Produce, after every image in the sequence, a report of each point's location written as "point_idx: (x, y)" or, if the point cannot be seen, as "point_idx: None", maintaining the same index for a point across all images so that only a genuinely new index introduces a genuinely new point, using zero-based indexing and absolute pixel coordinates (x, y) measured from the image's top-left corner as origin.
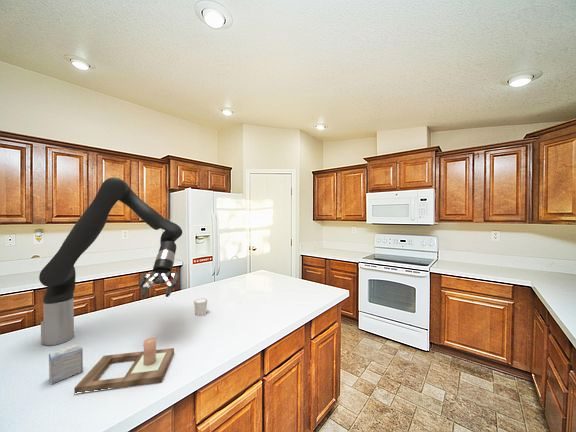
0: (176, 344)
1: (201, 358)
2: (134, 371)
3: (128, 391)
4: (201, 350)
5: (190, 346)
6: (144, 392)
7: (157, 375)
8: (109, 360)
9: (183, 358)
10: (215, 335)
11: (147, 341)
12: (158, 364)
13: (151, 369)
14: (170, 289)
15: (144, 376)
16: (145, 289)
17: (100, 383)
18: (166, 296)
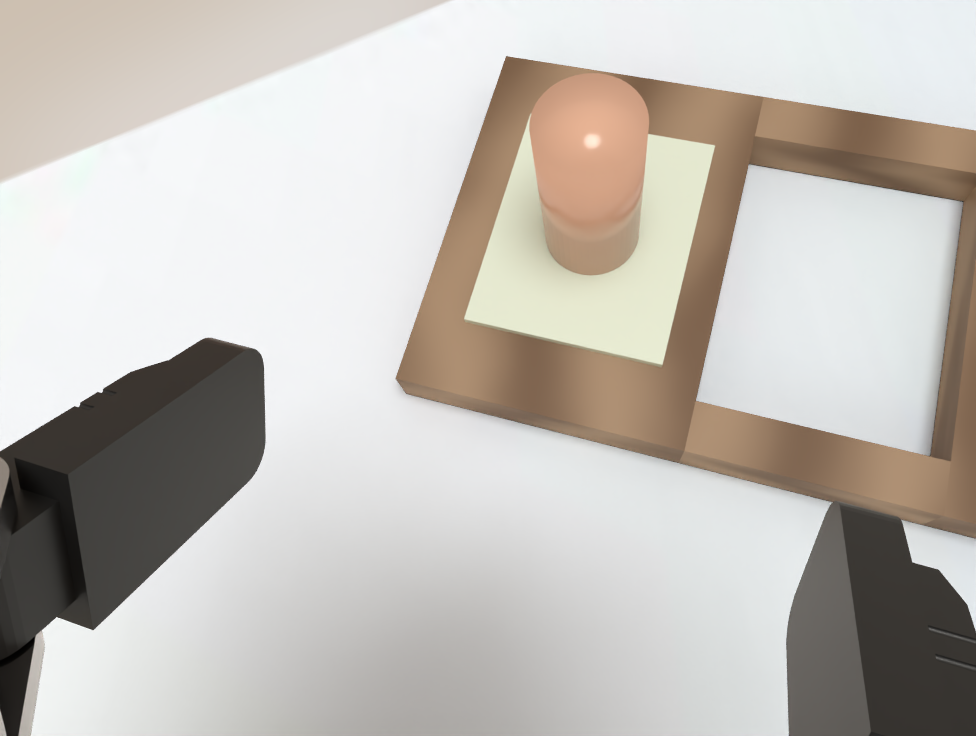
0: (370, 540)
1: (228, 227)
2: (692, 159)
3: (700, 79)
4: (198, 333)
5: None
6: (604, 39)
7: (530, 72)
8: (954, 424)
9: (347, 283)
10: None
11: (612, 110)
12: (525, 175)
13: None
14: (49, 430)
15: None
16: (871, 645)
17: (907, 128)
18: (252, 414)
